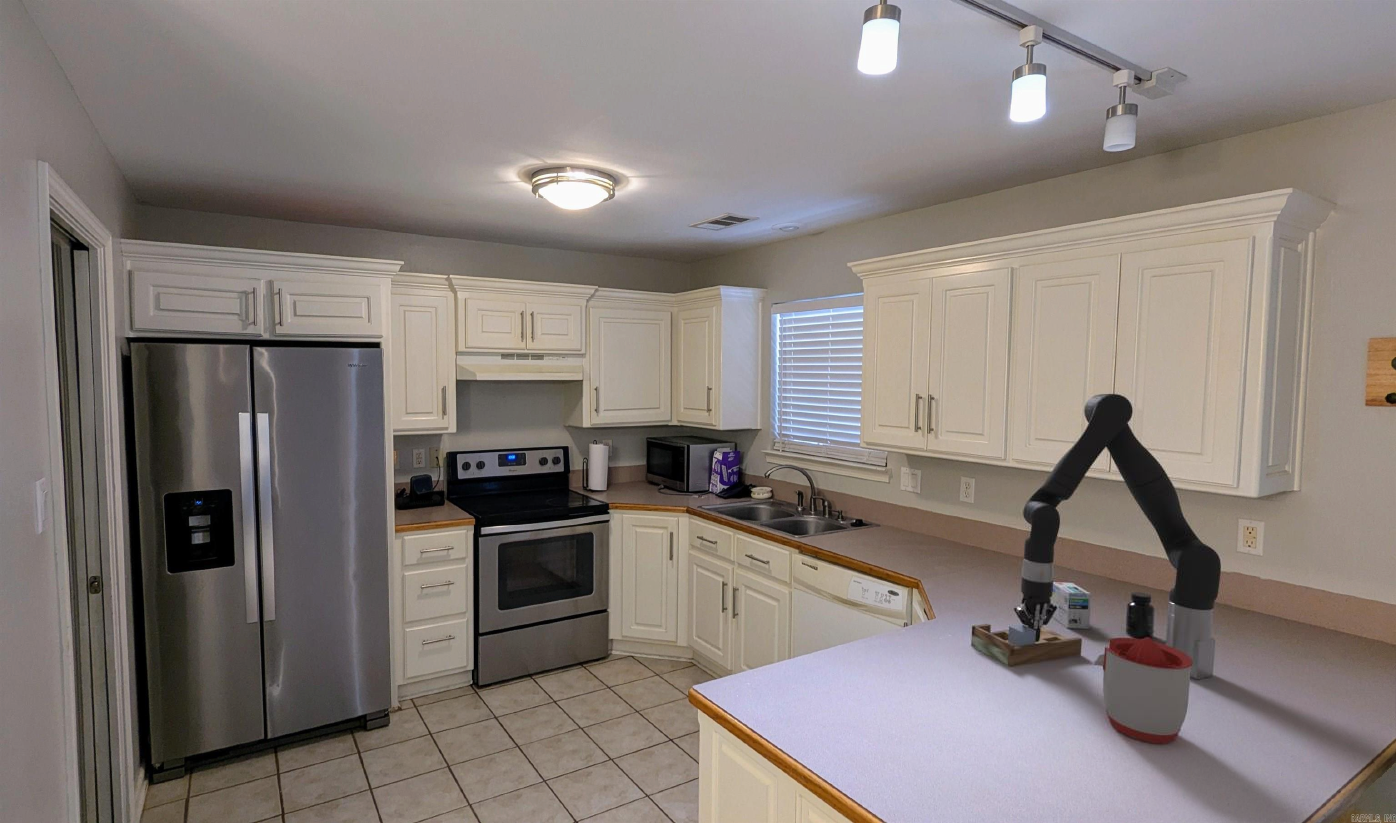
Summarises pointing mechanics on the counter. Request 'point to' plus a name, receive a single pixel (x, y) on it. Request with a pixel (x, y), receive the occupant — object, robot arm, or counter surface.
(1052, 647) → the board
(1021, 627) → the block
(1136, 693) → the citrus juicer
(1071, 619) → the light bulb box
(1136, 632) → the supplement bottle
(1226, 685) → the counter surface
